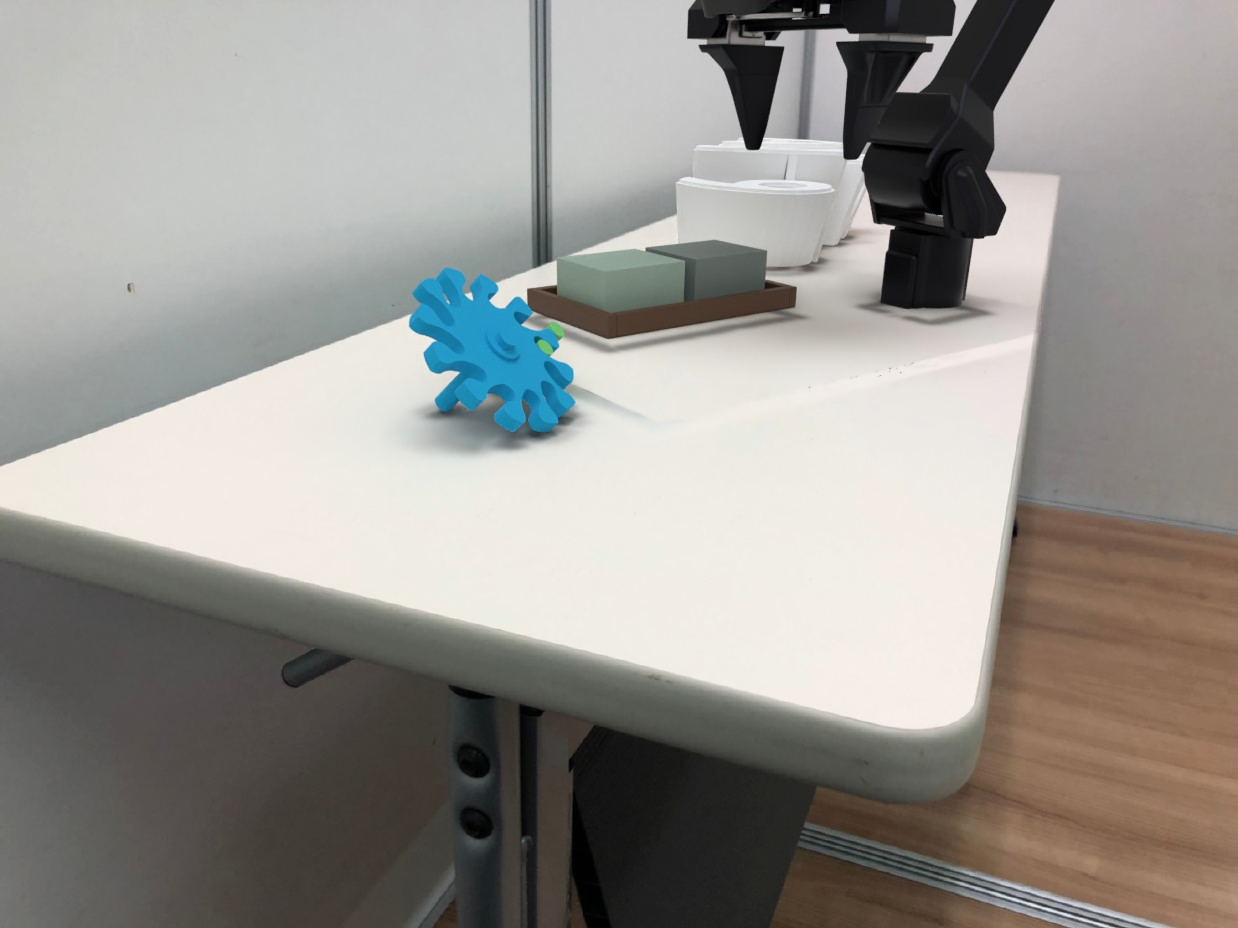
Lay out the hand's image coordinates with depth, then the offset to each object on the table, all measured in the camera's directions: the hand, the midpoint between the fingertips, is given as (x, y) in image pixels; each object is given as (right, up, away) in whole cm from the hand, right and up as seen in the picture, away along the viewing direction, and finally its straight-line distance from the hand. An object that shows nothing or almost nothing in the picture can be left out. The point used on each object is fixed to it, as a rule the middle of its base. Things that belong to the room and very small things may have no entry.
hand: (799, 154), depth 66 cm
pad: (-6, -9, +8) cm, 13 cm away
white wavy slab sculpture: (+4, +1, +36) cm, 36 cm away
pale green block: (-12, -10, +4) cm, 17 cm away
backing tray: (-9, -10, +6) cm, 15 cm away
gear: (-18, -19, -15) cm, 30 cm away
